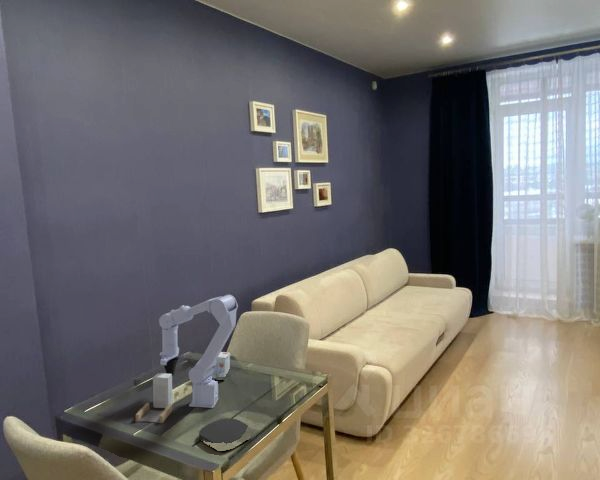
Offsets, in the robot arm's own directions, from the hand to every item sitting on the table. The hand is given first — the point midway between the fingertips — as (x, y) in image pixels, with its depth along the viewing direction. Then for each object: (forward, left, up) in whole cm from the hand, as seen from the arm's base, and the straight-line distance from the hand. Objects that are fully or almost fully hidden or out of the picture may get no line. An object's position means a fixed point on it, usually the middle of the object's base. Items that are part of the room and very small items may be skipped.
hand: (170, 376), depth 174 cm
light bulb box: (-13, -20, -9) cm, 26 cm away
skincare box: (0, +8, -9) cm, 12 cm away
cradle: (0, +16, -8) cm, 18 cm away
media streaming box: (-29, +27, -9) cm, 40 cm away
